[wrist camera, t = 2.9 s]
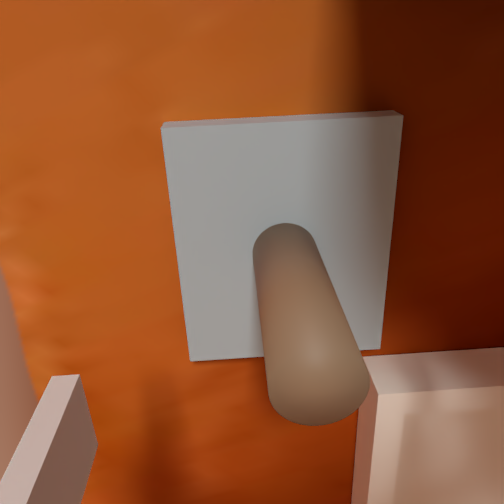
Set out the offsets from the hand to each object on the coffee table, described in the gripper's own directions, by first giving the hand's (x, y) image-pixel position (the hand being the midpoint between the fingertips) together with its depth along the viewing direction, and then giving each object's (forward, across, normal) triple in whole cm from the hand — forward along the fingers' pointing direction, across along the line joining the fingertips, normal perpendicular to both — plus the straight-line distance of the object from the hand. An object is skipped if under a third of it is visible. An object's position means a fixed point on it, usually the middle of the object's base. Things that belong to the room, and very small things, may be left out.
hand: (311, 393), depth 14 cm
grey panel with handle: (+11, 0, 0) cm, 11 cm away
